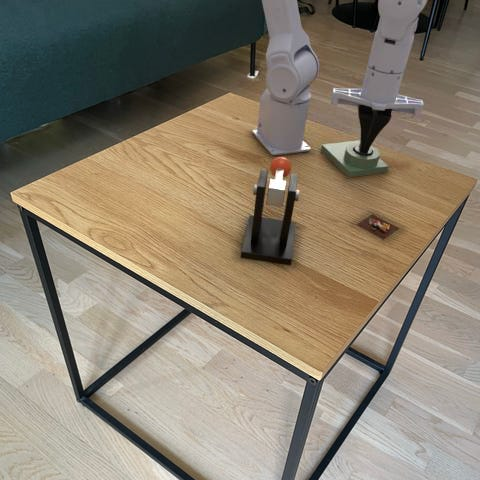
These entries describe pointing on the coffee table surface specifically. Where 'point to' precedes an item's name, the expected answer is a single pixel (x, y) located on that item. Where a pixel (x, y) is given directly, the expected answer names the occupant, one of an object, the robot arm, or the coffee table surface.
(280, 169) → the lever
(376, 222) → the diorama
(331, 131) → the coffee table surface
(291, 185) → the bracket
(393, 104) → the robot arm
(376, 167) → the control block
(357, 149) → the button
